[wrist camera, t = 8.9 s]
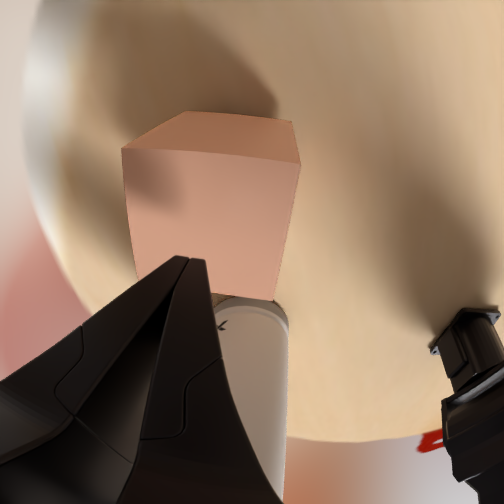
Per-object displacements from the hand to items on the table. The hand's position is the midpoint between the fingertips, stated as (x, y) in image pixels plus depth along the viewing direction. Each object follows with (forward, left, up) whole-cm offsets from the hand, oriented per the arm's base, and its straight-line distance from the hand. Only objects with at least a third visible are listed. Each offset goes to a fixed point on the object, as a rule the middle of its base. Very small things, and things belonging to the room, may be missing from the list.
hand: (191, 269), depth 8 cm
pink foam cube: (0, 0, -8) cm, 8 cm away
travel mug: (-2, +13, -10) cm, 16 cm away
